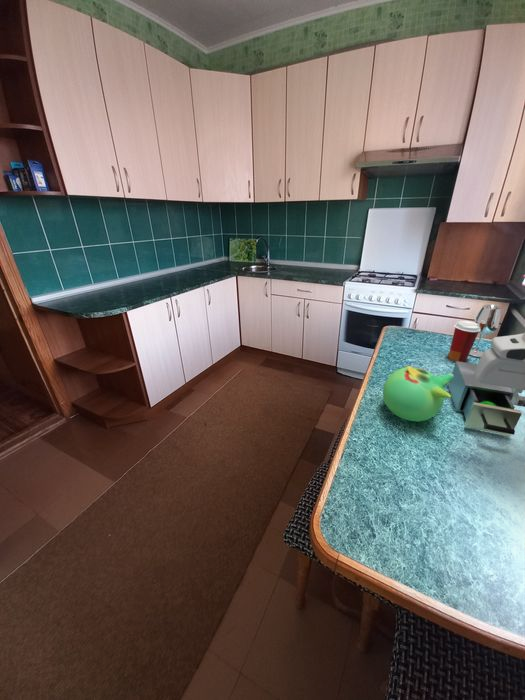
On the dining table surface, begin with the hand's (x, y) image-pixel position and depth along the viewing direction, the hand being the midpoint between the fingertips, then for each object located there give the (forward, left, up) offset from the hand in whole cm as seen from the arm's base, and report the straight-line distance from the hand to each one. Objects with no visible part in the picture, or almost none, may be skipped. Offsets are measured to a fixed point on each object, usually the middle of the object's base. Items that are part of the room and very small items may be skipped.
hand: (519, 404), depth 65 cm
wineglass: (-9, -61, -16) cm, 63 cm away
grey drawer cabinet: (0, -24, -16) cm, 28 cm away
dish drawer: (0, -12, -15) cm, 19 cm away
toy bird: (+19, -11, -16) cm, 27 cm away
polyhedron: (0, -13, -14) cm, 19 cm away
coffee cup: (-1, -53, -16) cm, 55 cm away
